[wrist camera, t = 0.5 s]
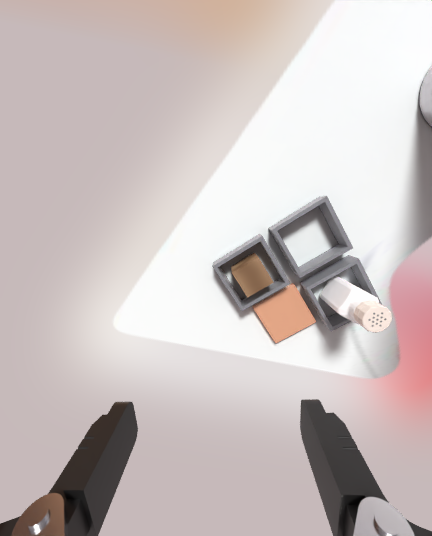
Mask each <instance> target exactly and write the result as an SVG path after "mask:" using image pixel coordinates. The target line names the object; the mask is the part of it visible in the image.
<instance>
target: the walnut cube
mask: <svg viewBox="0 0 432 536" xmlns="http://www.w3.org/2000/svg"><path fill="white" fill-rule="evenodd" d="M231 270H232V274H233V276H234V277H235V279H236V280H237V282H238V283H239V285H240V287H241V288H242V290H243V291H244V293H245V294H246V296H247V297H249V296H251V295H253V294H255V293H256V292H258V291H260V290H262V289H263V288H265V287H267V286H268V285H270V284H272V283H274V282H273V280H272V279H271V277H270V276H269V274H268V272H267V271H266V269H265V267H264V266H263V264H262V262H261V261H260V259H259V257H258V256H257V255H256V254H255V252H254V253H252V254H250V255H249V256H247V257H245V258H244V259H242V260H241V261H239V262H237V263H236V264H234V265H232V266H231Z"/></svg>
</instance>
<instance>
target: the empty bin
mask: <svg viewBox="0 0 432 536" xmlns="http://www.w3.org/2000/svg"><path fill="white" fill-rule="evenodd" d="M317 206H319V207H320V209H321V211H322V213H323V215H324V217H325V219H326V221H327V223H328V225H329V227H330V229H331V230H332V232H333V234H334V236H335V238H336V240H337V242H338V245H336V246H335V247H333V248H331V249H329V250H328V251H326V252H324V253H323V254H321V255H319V256H317V257H316V258H314V259H312V260H310V261H309V262H307V263H305V264H303V265H302V266H300V267H298V266H297V264H296V262H295V261H294V259H293V257H292V255H291V254H290V252H289V250H288V249H287V247H286V245H285V243H284V242H283V240H282V238H281V236H280V235H279V233H278V230H279V229H281V228H283V227H284V226H286V225H288V224H289V223H291V222H293V221H294V220H296V219H297V218H299V217H301V216H302V215H304V214H306V213H307V212H309V211H310V210H312V209H314V208H315V207H317ZM269 230H270V232H271V234H272V235H273V237H274V239H275V241H276V242H277V244H278V246H279V247H280V249H281V251H282V253H283V254H284V256H285V258H286V260H287V261H288V263H289V265H290V266H291V268H292V270H293V272H294V273H295V274H296V275H297V276H298V277H299V278H301V277H303V276H305V275H306V274H308V273H310V272H312V271H314V270H315V269H317V268H319V267H321V266H322V265H324V264H326V263H328V262H329V261H331V260H333V259H335V258H336V257H338V256H340V255H342V254H343V253H345V252H347V251H349V250H350V249H352V248H353V247H352V245H351V243H350V241H349V239H348V237H347V235H346V233H345V231H344V229H343V227H342V225H341V223H340V221H339V219H338V217H337V215H336V213H335V211H334V209H333V207H332V205H331V203H330V201H329V199H328V197H327V196H323V197H318V198H316V199H315V200H313V201H312V202H310V203H308V204H307V205H305V206H304V207H302V208H300V209H299V210H297V211H296V212H294V213H292V214H291V215H289V216H287V217H286V218H284V219H283V220H281V221H279V222H278V223H276V224H275V225H273V226H271V227H270V228H269Z"/></svg>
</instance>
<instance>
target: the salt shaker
mask: <svg viewBox="0 0 432 536" xmlns="http://www.w3.org/2000/svg"><path fill="white" fill-rule="evenodd" d="M320 297H321V299H322V300H323V301H325V302H326V303H327V304H328V305H329V306H330V307H331V308H333V309H334V310H335V311H336V312H337V313H338V314H339V315H341V316H343V317H345V318H347V319H349V320H351V321H353V322H355V323H357V324H360V325H361V326H362V327H364V328H365V329H366V330H367V331H370V332H375V333H376V332H380V331H383V330H385V329H386V328H387V327H388V326H389V325H390V323H391V320H392V315H391V312H390V311H389V310H388V309H387V308H386V307H385V306H383V305H381V304H380V303H379V300H378V298H377V297H375V296H373V295H371V294H369V293H368V292H366V291H364V290H362V289H360V288H359V287H357V286H355V285H353V284H351V283H349V282H348V281H346V280H344V279H342V278H340V277H338V276H334V277H332V278H330V280H329V281H328V283H327V284H326V286H325V287H324V289H323V290H322V292H321V293H320Z"/></svg>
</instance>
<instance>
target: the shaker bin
mask: <svg viewBox="0 0 432 536" xmlns="http://www.w3.org/2000/svg"><path fill="white" fill-rule="evenodd" d="M350 267H351V269H352V271H353V273H354V275H355V277H356V278H357V280H358V282H359V284H360V286H361V288H362V290H364V291H366V292H368V293H369V294H371V295H373V296H375V297H377V298H378V296H377V294H376V292H375V290H374V288H373V286H372V284H371V282H370V280H369V278H368V276H367V274H366V272H365V270H364V268H363V266H362V264H361V262H360V260H359V259H358V258H355V257H352V256H349V255H348V256H346V257H344V258H343V259H341V260H339V261H337V262H336V263H334V264H332V265H330V266H329V267H327V268H325V269H323V270H321V271H320V272H318V273H316V274H314V275H313V276H311V277H309V278H307V279H306V280H304V281H302V282H300V284H301V285H302V287H303V289H304V291H305V292H306V294H307V296H308V297H309V299H310V301H311V303H312V304H313V306H314V308H315V310H316V311H317V313H318V315H319V316H320V318H321V320H322V322H323V323H324V324H325V325H326V327H327V328H328V329H329V330H330V331H333V330H335V329H337V328H338V327H340V326H342V325H344V324H346V323H348V322H350V321H351V320H349V319H347V318H345V317H343V316H341V315H339V314H338V313H336V314H334V315H332V316H330V317H328V318H327V317H326V315H325V313H324V311H323V310H322V308H321V306H320V304H319V303H318V301H317V299H316V297H315V296H314V294H313V292H312V290H311V289H312V288H314V287H316V286H317V285H319V284H321V283H323V282H325V281H326V280H328V279H330V278H332V277H334V276H335V275H337V274H339V273H341V272H343V271H344V270H346V269H348V268H350ZM378 300H379V298H378ZM379 303H380V304H381V302H380V300H379ZM381 305H382V304H381Z"/></svg>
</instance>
